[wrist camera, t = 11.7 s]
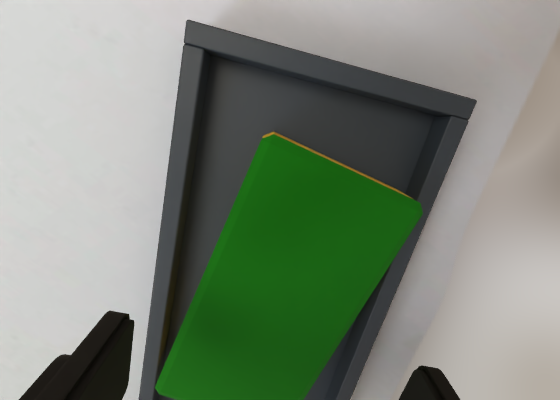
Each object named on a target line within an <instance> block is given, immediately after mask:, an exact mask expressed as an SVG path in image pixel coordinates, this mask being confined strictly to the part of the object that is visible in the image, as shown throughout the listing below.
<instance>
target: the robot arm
mask: <svg viewBox="0 0 560 400" xmlns="http://www.w3.org/2000/svg"><path fill="white" fill-rule="evenodd" d="M133 331H134V320H129V314H125V313H120V312H114V311H108V312H107V313H106V314H105V315H104V316H103V317H102V318H101V320H100V321H99V322H98V323H97V325H96V326H95V327H94V328H93V329H92V331H91V332H90V333H89V334H88V335H87V337H86V338H85V339H84V340H83V341H82V343H81V344H80V345H79V346H78V347H77V349H76V350H75V351H74V352H73V353H72V355H66V354H64V355H60V356H59V357H57V358H56V359H55V360H54V361H53V362H52V363H51V364H50V365H49V366H48V367H47V368H46V370H45V371H44V372H43V373H42V374H41V375H40V376H39V378H38V379H37V380H36V381H35V382H34V383H33V384H32V385H31V387H30V388H29V389H28V390H27V391H26V392H25V393H24V395H23V396H22V397H21V398H20V399H19V400H122V398H123V396H124V394H125V392H126V389H127V386H128V381H129V371H130V361H131V351H132V341H133ZM399 400H460V398H459V397H458V395H457V394H456V392H455V391H454V389H453V388H452V386H451V385H450V383H449V381H448V380H447V378H446V377H445V375H444V374H443V373H442V371H441V370H439V369H438V368H433V367H427V366H419V367H418V368H417V369H416V370H414V372H413V373H412V375H411V377H410V379H409V381H408V383H407V385H406V387H405V389H404V391H403V392H402V394H401V396H400V398H399Z"/></svg>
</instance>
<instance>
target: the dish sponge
mask: <svg viewBox="0 0 560 400" xmlns="http://www.w3.org/2000/svg"><path fill="white" fill-rule="evenodd" d="M422 215H423V212H422V207H421V203H419V202H418V201H416V200H414V199H413V198H411V197H409V196H408V195H406V194H404V193H402V192H401V191H399V190H397V189H395V188H393V187H391V186H389V185H387V184H385V183H382V182H380V181H378V180H376V179H374V178H372V177H370V176H368V175H365V174H363V173H361V172H359V171H357V170H355V169H353V168H351V167H348V166H346V165H344V164H342V163H340V162H338V161H336V160H334V159H331V158H329V157H327V156H325V155H323V154H321V153H319V152H316V151H314V150H312V149H310V148H308V147H306V146H304V145H302V144H299V143H297V142H295V141H293V140H291V139H289V138H287V137H285V136H282V135H280V134H278V133H276V132H271V133H269V134H266V135H264V136H263V137H262V139H261V141H260V144H259V146H258V148H257V151H256V153H255V155H254V158H253V160H252V162H251V165H250V167H249V169H248V172H247V174H246V176H245V179H244V181H243V183H242V186H241V188H240V190H239V193H238V195H237V197H236V200H235V202H234V204H233V207H232V209H231V211H230V214H229V216H228V218H227V221H226V223H225V225H224V228H223V230H222V232H221V235H220V237H219V239H218V242H217V244H216V246H215V249H214V251H213V253H212V256H211V258H210V260H209V263H208V265H207V267H206V269H205V272H204V274H203V276H202V279H201V281H200V283H199V286H198V288H197V290H196V293H195V295H194V297H193V300H192V302H191V304H190V307H189V309H188V311H187V314H186V316H185V318H184V321H183V323H182V325H181V328H180V330H179V332H178V335H177V337H176V339H175V342H174V344H173V346H172V349H171V351H170V353H169V356H168V358H167V360H166V363H165V365H164V367H163V370H162V372H161V374H160V377H159V379H158V381H157V384H156V386H155V389H156V390H157V392H158V393H159V394H160V395H163V396H166V397H170V398H173V399H176V400H304V398H305V397H306V395H307V394H308V392H309V390H310V389H311V387H312V386H313V384H314V383H315V381H316V380H317V378H318V376H319V375H320V373H321V372H322V370H323V369H324V367H325V366H326V364H327V362H328V361H329V359H330V358H331V356H332V355H333V353H334V352H335V350H336V348H337V347H338V345H339V344H340V342H341V341H342V339H343V338H344V336H345V334H346V333H347V331H348V330H349V328H350V327H351V325H352V324H353V322H354V320H355V319H356V317H357V316H358V314H359V313H360V311H361V309H362V308H363V306H364V305H365V303H366V302H367V300H368V299H369V297H370V295H371V294H372V292H373V291H374V289H375V288H376V286H377V285H378V283H379V281H380V280H381V278H382V277H383V275H384V274H385V272H386V271H387V269H388V267H389V266H390V264H391V263H392V261H393V260H394V258H395V257H396V255H397V253H398V252H399V250H400V249H401V247H402V246H403V244H404V243H405V241H406V239H407V238H408V236H409V235H410V233H411V232H412V230H413V229H414V227H415V225H416V224H417V222H418V221H419V219H420V218H421V216H422Z"/></svg>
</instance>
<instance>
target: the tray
mask: <svg viewBox="0 0 560 400" xmlns="http://www.w3.org/2000/svg"><path fill="white" fill-rule="evenodd" d="M184 43H185V44H184V46H183V54H182V62H181V69H180V77H179V85H178V93H177V101H176V109H175V117H174V125H173V133H172V141H171V149H170V156H169V164H168V172H167V180H166V188H165V196H164V204H163V212H162V220H161V228H160V236H159V244H158V251H157V259H156V267H155V275H154V283H153V291H152V299H151V307H150V315H149V323H148V331H147V338H146V346H145V354H144V362H143V370H142V378H141V386H140V394H139V400H176V399H173V398H170V397H166V396H163V395H160V394H159V393H158V392H157V390H156V389H155V386H156V384H157V381H158V379H159V377H160V374H161V372H162V370H163V367H164V365H165V363H166V360H167V358H168V356H169V353H170V351H171V349H172V346H173V344H174V342H175V339H176V337H177V335H178V332H179V330H180V328H181V325H182V323H183V321H184V318H185V316H186V314H187V311H188V309H189V307H190V304H191V302H192V300H193V297H194V295H195V293H196V290H197V288H198V286H199V283H200V281H201V279H202V276H203V274H204V272H205V269H206V267H207V265H208V263H209V260H210V258H211V256H212V253H213V251H214V249H215V246H216V244H217V242H218V239H219V237H220V235H221V232H222V230H223V228H224V225H225V223H226V221H227V218H228V216H229V214H230V211H231V209H232V207H233V204H234V202H235V200H236V197H237V195H238V193H239V190H240V188H241V186H242V183H243V181H244V179H245V176H246V174H247V172H248V169H249V167H250V165H251V162H252V160H253V158H254V155H255V153H256V151H257V148H258V146H259V144H260V141H261V139H262V137H263V136H264V135H266V134H269V133H271V132H276V133H278V134H280V135H282V136H285V137H287V138H289V139H291V140H293V141H295V142H297V143H299V144H302V145H304V146H306V147H308V148H310V149H312V150H314V151H316V152H319V153H321V154H323V155H325V156H327V157H329V158H331V159H334V160H336V161H338V162H340V163H342V164H344V165H346V166H348V167H351V168H353V169H355V170H357V171H359V172H361V173H363V174H365V175H368V176H370V177H372V178H374V179H376V180H378V181H380V182H382V183H385V184H387V185H389V186H391V187H393V188H395V189H397V190H399V191H401V192H402V193H404V194H406V195H408V196H409V197H411V198H413V199H414V200H416V201H418V202H419V203H421V207H422V212H423V215H422V216H421V218H420V219H419V221H418V222H417V224H416V225H415V227H414V229H413V230H412V232H411V233H410V235H409V236H408V238H407V239H406V241H405V243H404V244H403V246H402V247H401V249H400V250H399V252H398V253H397V255H396V257H395V258H394V260H393V261H392V263H391V264H390V266H389V267H388V269H387V271H386V272H385V274H384V275H383V277H382V278H381V280H380V281H379V283H378V285H377V286H376V288H375V289H374V291H373V292H372V294H371V295H370V297H369V299H368V300H367V302H366V303H365V305H364V306H363V308H362V309H361V311H360V313H359V314H358V316H357V317H356V319H355V320H354V322H353V324H352V325H351V327H350V328H349V330H348V331H347V333H346V334H345V336H344V338H343V339H342V341H341V342H340V344H339V345H338V347H337V348H336V350H335V352H334V353H333V355H332V356H331V358H330V359H329V361H328V362H327V364H326V366H325V367H324V369H323V370H322V372H321V373H320V375H319V376H318V378H317V380H316V381H315V383H314V384H313V386H312V387H311V389H310V390H309V392H308V394H307V395H306V397H305V398H304V400H350V398H351V396H352V394H353V391H354V389H355V387H356V384H357V382H358V380H359V377H360V375H361V373H362V370H363V368H364V366H365V363H366V361H367V359H368V356H369V354H370V351H371V349H372V347H373V344H374V342H375V340H376V337H377V335H378V333H379V330H380V328H381V326H382V323H383V321H384V319H385V316H386V314H387V312H388V309H389V307H390V305H391V302H392V300H393V297H394V295H395V293H396V290H397V288H398V286H399V283H400V281H401V279H402V276H403V274H404V272H405V269H406V267H407V265H408V262H409V260H410V258H411V255H412V253H413V251H414V248H415V246H416V243H417V241H418V239H419V236H420V234H421V232H422V229H423V227H424V225H425V222H426V220H427V218H428V215H429V213H430V211H431V208H432V206H433V204H434V201H435V199H436V197H437V194H438V192H439V189H440V187H441V185H442V182H443V180H444V178H445V175H446V173H447V171H448V168H449V166H450V164H451V161H452V159H453V157H454V154H455V152H456V150H457V147H458V145H459V143H460V140H461V138H462V135H463V133H464V131H465V128H466V126H467V124H468V119H469V118H470V116H471V114H472V111H473V109H474V107H475V104H476V102H477V101H476V100H475V99H471V98H468V97H464V96H460V95H457V94H453V93H450V92H446V91H442V90H439V89H435V88H432V87H428V86H425V85H421V84H417V83H414V82H410V81H407V80H403V79H399V78H396V77H392V76H389V75H385V74H381V73H378V72H374V71H371V70H367V69H364V68H360V67H356V66H353V65H349V64H346V63H342V62H338V61H335V60H331V59H328V58H324V57H320V56H317V55H313V54H310V53H306V52H302V51H299V50H295V49H292V48H288V47H285V46H281V45H277V44H274V43H270V42H267V41H263V40H259V39H256V38H252V37H249V36H245V35H241V34H238V33H234V32H231V31H227V30H224V29H220V28H216V27H213V26H209V25H206V24H202V23H198V22H195V21H191V20H187V21H186V29H185V37H184Z"/></svg>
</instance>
